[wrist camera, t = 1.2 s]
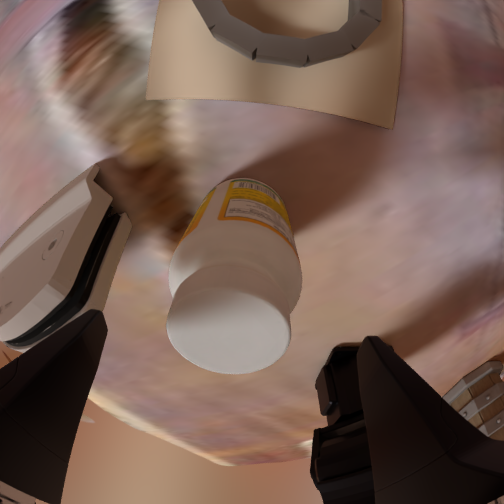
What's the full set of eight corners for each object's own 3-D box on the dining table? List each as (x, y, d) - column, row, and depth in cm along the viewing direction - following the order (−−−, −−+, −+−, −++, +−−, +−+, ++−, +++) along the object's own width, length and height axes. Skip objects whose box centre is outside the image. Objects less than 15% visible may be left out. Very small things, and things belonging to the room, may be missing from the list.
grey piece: (99, 160, 15) (33, 291, 8) (139, 209, 18) (111, 343, 11) (-1, 248, 18) (-36, 335, 11) (30, 275, 21) (3, 361, 15)
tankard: (503, 348, 26) (540, 417, 12) (490, 381, 31) (515, 439, 18) (399, 410, 30) (422, 494, 17) (402, 430, 36) (419, 495, 23)
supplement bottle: (269, 163, 15) (288, 239, 6) (297, 242, 17) (329, 366, 9) (184, 195, 16) (114, 295, 7) (219, 267, 18) (196, 392, 10)
